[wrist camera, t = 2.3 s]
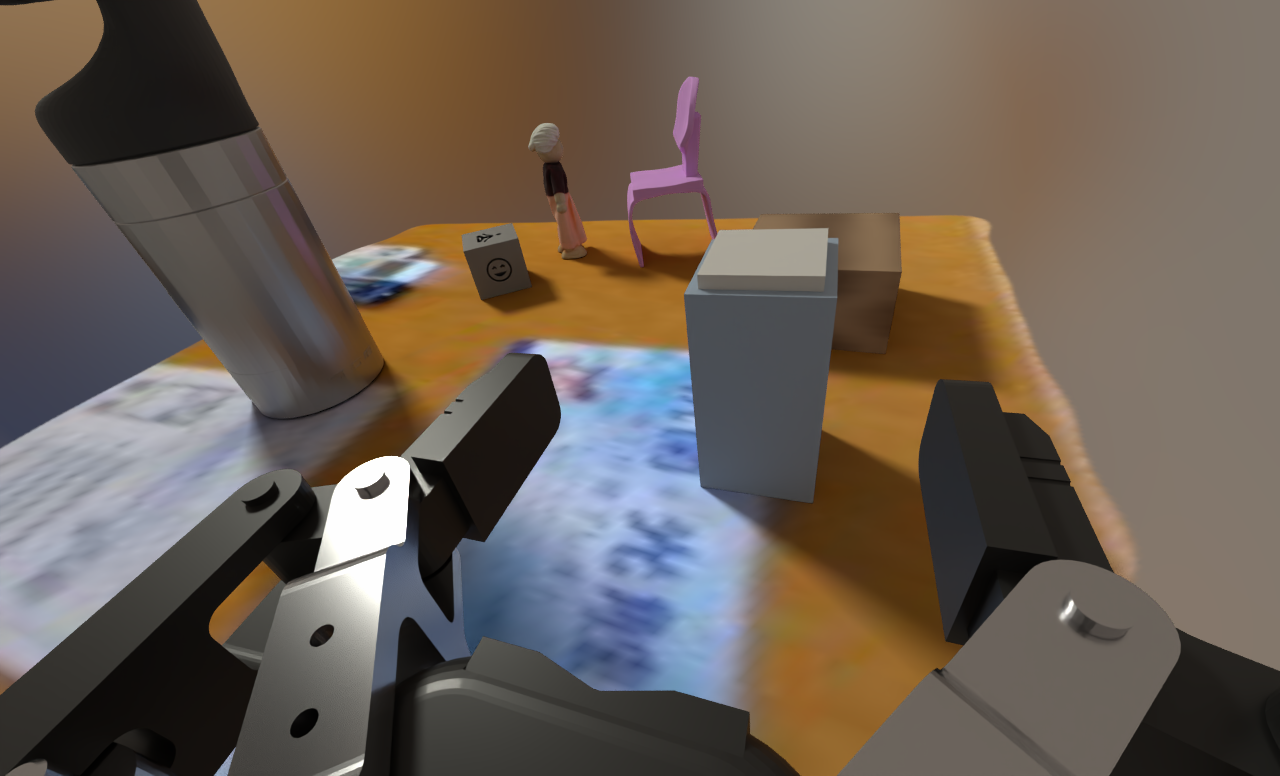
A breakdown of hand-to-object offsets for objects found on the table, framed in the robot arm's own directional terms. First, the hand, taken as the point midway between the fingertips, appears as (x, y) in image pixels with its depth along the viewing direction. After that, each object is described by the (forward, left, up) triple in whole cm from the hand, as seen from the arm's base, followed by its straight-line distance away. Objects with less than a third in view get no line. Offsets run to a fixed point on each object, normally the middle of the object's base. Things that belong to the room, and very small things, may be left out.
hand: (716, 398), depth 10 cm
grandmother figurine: (-24, +39, -13) cm, 48 cm away
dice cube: (-28, +31, -13) cm, 44 cm away
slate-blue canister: (0, +11, -13) cm, 17 cm away
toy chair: (-12, +39, -13) cm, 43 cm away
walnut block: (+2, +27, -13) cm, 31 cm away
